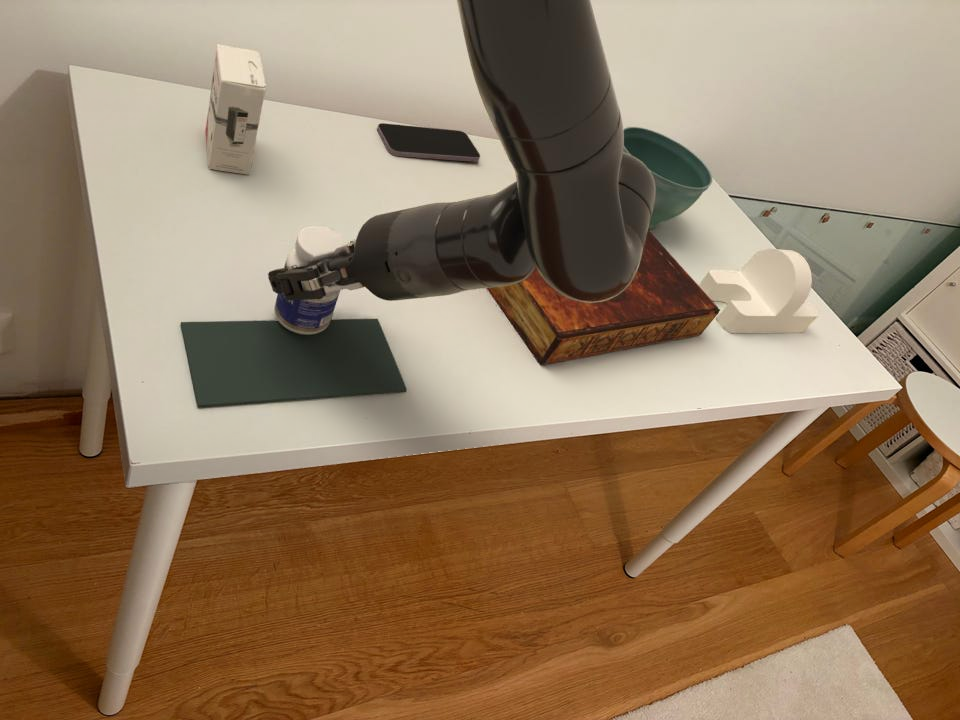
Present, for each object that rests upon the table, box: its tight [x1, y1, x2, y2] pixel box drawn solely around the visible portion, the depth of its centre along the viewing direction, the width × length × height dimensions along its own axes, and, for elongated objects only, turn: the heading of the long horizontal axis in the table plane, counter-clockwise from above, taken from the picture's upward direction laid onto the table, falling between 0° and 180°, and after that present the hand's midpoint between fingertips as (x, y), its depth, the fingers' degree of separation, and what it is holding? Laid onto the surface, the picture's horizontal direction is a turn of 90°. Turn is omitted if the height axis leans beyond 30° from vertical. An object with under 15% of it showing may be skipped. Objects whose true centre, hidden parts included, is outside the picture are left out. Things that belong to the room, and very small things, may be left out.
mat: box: [180, 318, 408, 409], centre depth 70 cm, size 20×10×1 cm, turn 114°
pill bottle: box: [273, 225, 348, 335], centre depth 70 cm, size 6×6×10 cm
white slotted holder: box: [698, 248, 820, 334], centre depth 108 cm, size 10×18×11 cm, turn 112°
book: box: [486, 229, 721, 366], centre depth 96 cm, size 30×24×5 cm
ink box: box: [205, 43, 267, 176], centre depth 85 cm, size 9×5×12 cm, turn 17°
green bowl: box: [623, 126, 713, 230], centre depth 115 cm, size 16×16×11 cm
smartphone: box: [376, 122, 481, 163], centre depth 108 cm, size 7×1×15 cm
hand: (299, 271), depth 71 cm, fingers closed on pill bottle, 5 cm apart
